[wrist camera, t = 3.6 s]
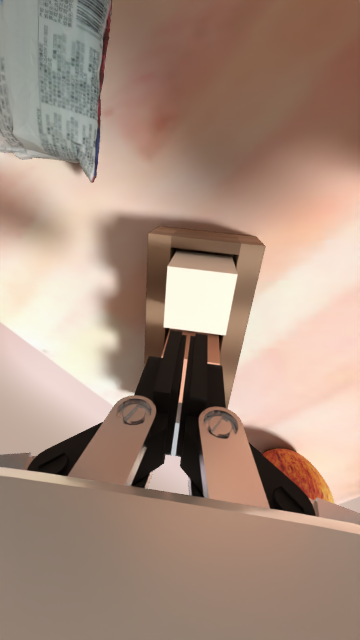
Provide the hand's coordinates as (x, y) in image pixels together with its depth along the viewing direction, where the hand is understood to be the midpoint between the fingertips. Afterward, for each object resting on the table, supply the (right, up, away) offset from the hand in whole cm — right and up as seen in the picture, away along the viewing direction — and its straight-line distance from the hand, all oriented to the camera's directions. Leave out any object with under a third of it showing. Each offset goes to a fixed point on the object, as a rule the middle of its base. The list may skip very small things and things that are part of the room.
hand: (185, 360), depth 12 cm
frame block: (+1, +1, +16) cm, 17 cm away
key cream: (+2, +5, +10) cm, 12 cm away
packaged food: (-10, +24, +8) cm, 27 cm away
